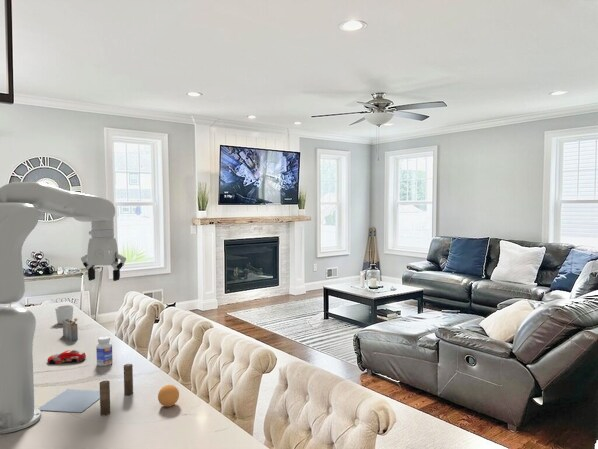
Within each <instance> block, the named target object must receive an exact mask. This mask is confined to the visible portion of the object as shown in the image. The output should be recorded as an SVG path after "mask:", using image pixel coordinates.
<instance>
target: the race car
mask: <svg viewBox="0 0 598 449" xmlns="http://www.w3.org/2000/svg"><path fill="white" fill-rule="evenodd" d="M86 358H87V357H86V353H85V351H81V350H76V349H75V350H74V349H72V350H71V349H70V350H66V351H65V350H64V351H62V352H61V353H56V354H52V355H50V356H48V357H47V359H46V360H47V364H50V365H54V364H70V363H72V364H75V363H79V362H83V361H84V360H85V359H86Z"/></svg>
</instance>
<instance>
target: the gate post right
mask: <svg viewBox="0 0 598 449" xmlns="http://www.w3.org/2000/svg"><path fill="white" fill-rule="evenodd" d="M133 367H134V366H133V363H126V364H124V365H123V391H124V392H123V395H124V396H130V395H133V394H134V373H133V371H134V370H133Z"/></svg>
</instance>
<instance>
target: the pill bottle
mask: <svg viewBox="0 0 598 449" xmlns="http://www.w3.org/2000/svg"><path fill="white" fill-rule="evenodd" d="M110 341H111V337H110V336H99V337H98V338H97V342H98V343H97V344H96V351H95V352H96V365H97V366H100V367H104V366H108V365H111V364H112V363H113V359H114V358H113V343H112V342H110Z"/></svg>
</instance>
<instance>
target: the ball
mask: <svg viewBox="0 0 598 449" xmlns="http://www.w3.org/2000/svg"><path fill="white" fill-rule="evenodd" d="M179 398H180V390H179V389H178V388H177V387H176V386H175V385H173V384H166V385H164V386H163V387H161V389H159V390H158V393H157V399H158V402H159V404H160V405H161V406H163V407H172V406H173V405H175V404H176V403H177V402H178V400H179Z"/></svg>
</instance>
